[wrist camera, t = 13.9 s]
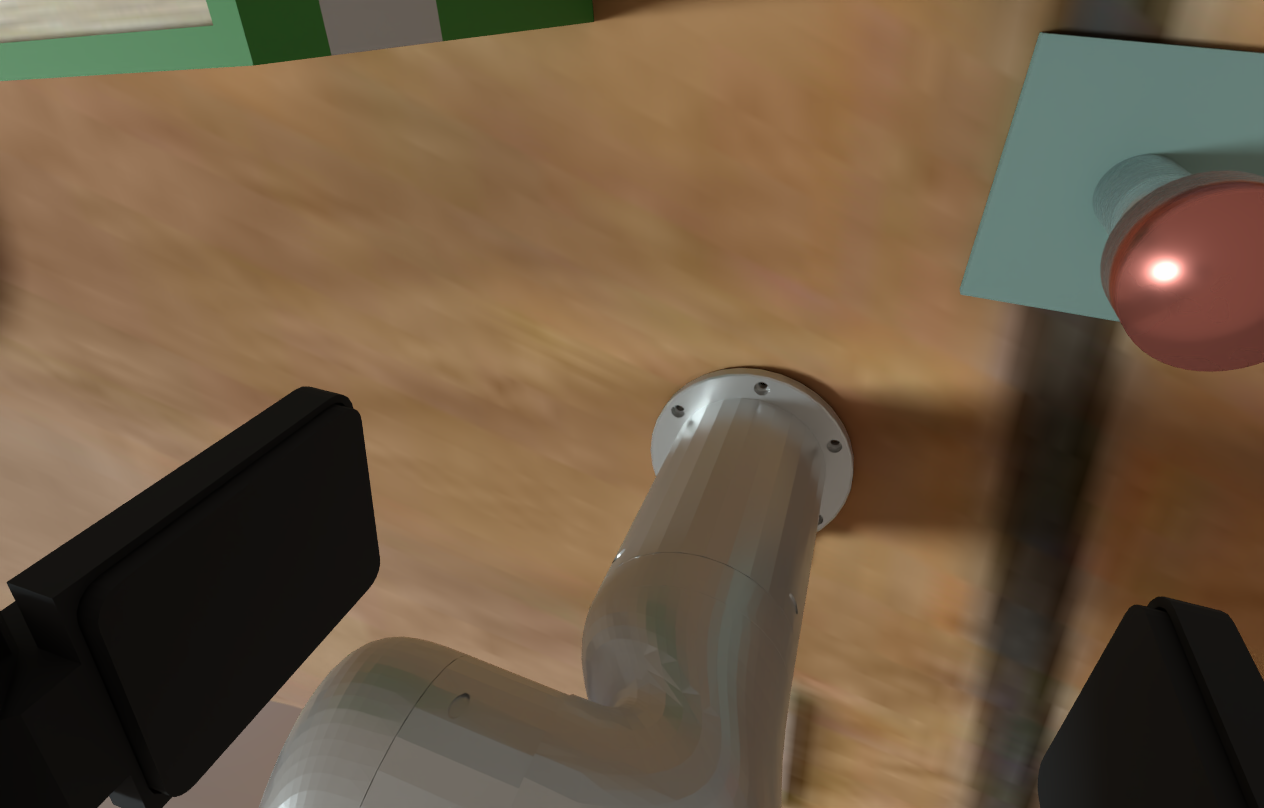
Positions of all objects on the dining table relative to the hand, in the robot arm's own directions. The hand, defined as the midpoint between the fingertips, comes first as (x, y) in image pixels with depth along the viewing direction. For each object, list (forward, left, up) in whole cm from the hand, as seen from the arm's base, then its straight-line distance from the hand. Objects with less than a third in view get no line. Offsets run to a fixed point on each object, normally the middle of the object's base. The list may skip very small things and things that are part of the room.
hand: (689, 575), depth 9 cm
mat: (-1, -13, -33) cm, 36 cm away
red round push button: (-1, -13, -32) cm, 35 cm away
